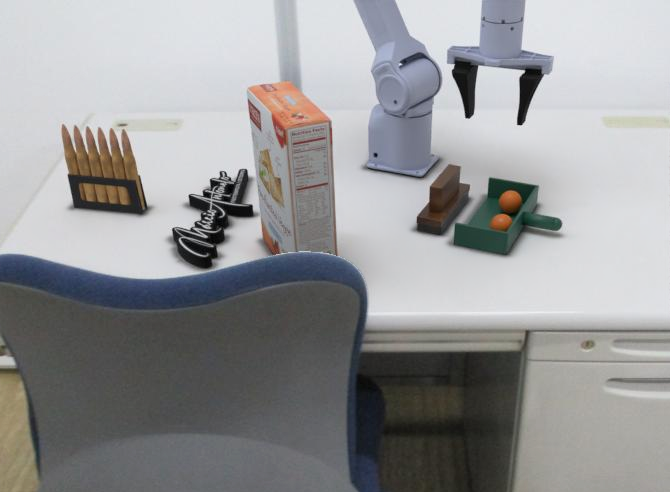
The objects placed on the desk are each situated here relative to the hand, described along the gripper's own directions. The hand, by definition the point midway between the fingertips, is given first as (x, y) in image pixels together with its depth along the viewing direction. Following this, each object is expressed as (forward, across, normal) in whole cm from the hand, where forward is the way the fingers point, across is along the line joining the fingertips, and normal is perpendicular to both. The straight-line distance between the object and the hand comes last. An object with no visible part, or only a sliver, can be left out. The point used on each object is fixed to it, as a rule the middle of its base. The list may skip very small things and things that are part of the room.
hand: (495, 119), depth 119 cm
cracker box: (+10, -17, -31) cm, 37 cm away
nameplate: (+10, -33, -25) cm, 42 cm away
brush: (+10, -4, -11) cm, 15 cm away
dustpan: (+11, +7, -11) cm, 17 cm away
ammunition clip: (+10, -49, -28) cm, 57 cm away
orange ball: (+9, +5, -7) cm, 12 cm away
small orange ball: (+9, +6, -14) cm, 18 cm away
